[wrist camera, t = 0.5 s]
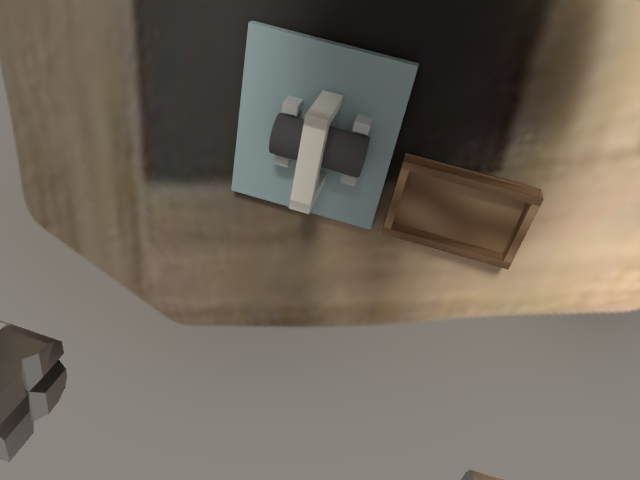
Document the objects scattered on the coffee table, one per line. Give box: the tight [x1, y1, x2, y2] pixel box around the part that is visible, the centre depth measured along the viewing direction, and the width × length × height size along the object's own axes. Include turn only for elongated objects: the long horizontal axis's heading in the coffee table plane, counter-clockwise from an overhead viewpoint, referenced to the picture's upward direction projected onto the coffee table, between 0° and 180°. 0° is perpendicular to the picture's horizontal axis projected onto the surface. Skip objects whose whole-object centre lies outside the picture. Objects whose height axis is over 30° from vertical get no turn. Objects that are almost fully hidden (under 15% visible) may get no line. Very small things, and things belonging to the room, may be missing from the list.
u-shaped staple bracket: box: [289, 90, 343, 214], centre depth 50 cm, size 10×2×7 cm, turn 169°
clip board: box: [232, 21, 419, 230], centre depth 53 cm, size 18×16×3 cm
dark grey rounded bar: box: [269, 113, 370, 178], centre depth 51 cm, size 4×9×4 cm, turn 79°
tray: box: [382, 153, 543, 269], centre depth 54 cm, size 9×14×2 cm, turn 79°
